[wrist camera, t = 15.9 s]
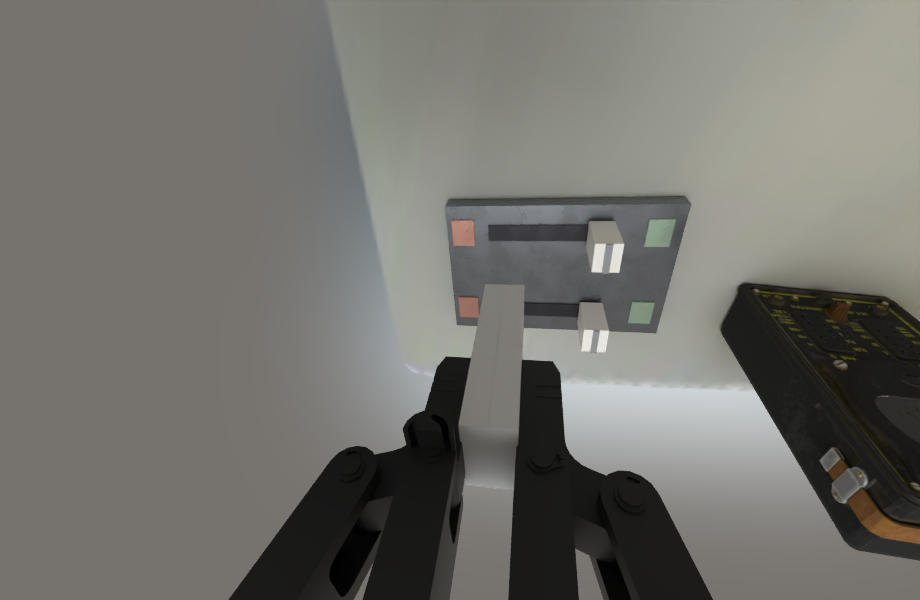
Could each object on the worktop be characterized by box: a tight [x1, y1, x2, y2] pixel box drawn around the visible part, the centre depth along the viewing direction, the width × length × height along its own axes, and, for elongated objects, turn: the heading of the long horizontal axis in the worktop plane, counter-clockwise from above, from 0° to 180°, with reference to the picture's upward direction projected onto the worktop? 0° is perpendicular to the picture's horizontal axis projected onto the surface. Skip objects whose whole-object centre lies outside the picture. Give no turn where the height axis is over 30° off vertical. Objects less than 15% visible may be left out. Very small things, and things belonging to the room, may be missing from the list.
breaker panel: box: [445, 196, 691, 333], centre depth 45 cm, size 16×24×2 cm, turn 94°
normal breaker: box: [586, 221, 624, 274], centre depth 38 cm, size 3×2×5 cm
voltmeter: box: [721, 284, 920, 561], centre depth 35 cm, size 16×9×25 cm, turn 89°
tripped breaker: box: [577, 302, 609, 353], centre depth 44 cm, size 3×2×5 cm
